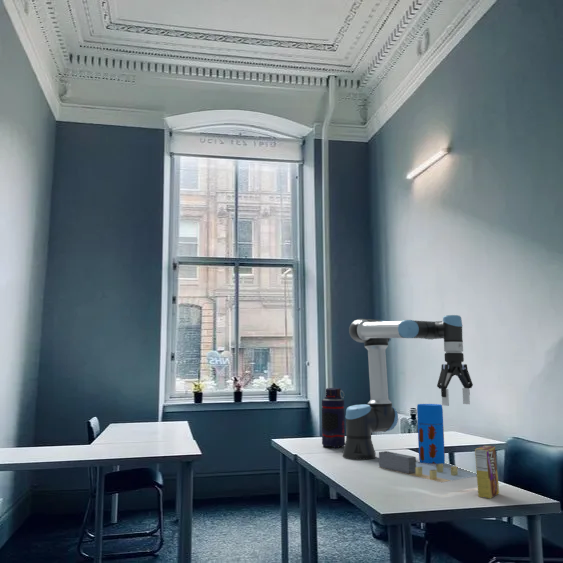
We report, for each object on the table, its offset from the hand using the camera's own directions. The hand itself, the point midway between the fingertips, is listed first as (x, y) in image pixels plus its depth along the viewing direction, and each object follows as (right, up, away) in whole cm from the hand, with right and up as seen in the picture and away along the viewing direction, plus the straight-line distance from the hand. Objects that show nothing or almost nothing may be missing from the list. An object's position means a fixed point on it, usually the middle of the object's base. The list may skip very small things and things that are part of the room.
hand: (456, 404), depth 213 cm
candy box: (-3, -20, -41) cm, 46 cm away
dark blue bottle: (-44, -36, +59) cm, 82 cm away
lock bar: (-25, -25, -6) cm, 36 cm away
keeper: (-12, -23, -15) cm, 30 cm away
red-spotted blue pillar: (-6, -29, +13) cm, 32 cm away
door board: (-14, -25, -8) cm, 30 cm away
